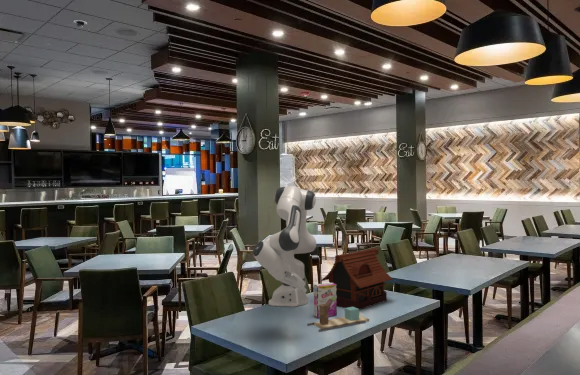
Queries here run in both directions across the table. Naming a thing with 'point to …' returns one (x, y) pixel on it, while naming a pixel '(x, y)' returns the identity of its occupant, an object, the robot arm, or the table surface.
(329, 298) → the candy bar box
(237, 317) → the table surface
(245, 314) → the table surface
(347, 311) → the cube
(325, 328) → the track
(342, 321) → the tan long piece
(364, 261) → the house
